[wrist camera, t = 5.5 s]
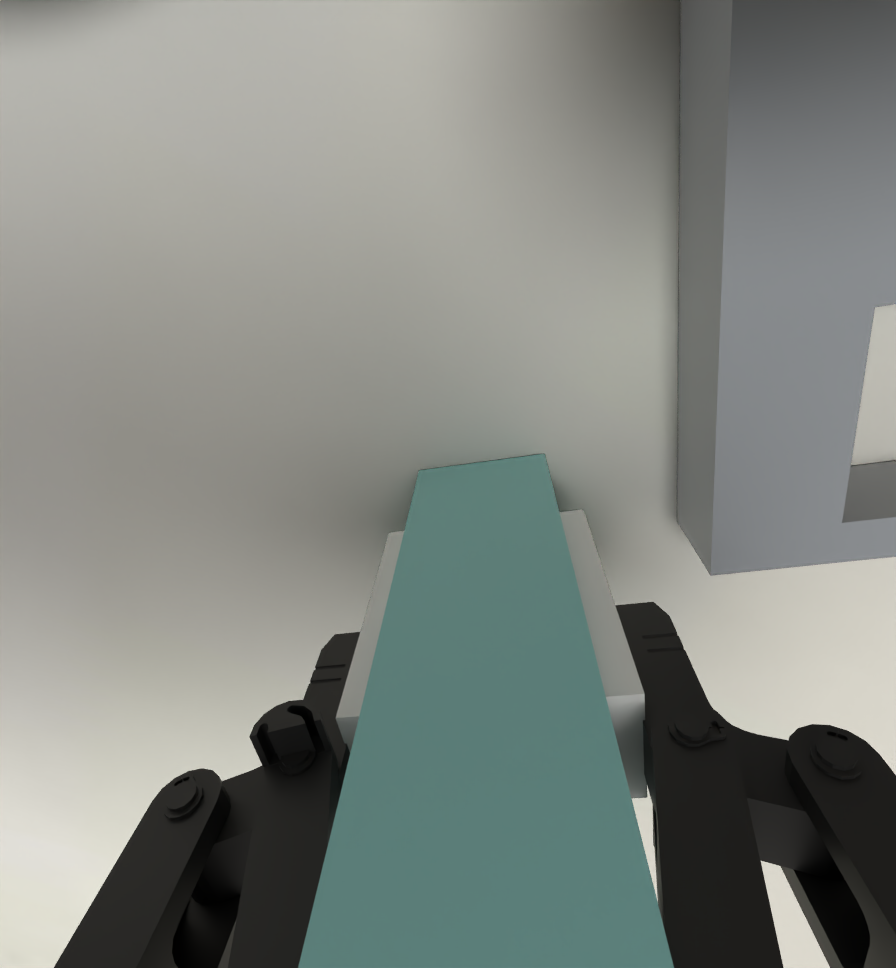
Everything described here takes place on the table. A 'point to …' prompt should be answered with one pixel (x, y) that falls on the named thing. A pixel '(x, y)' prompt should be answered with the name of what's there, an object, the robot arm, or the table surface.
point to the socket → (783, 277)
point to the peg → (485, 757)
